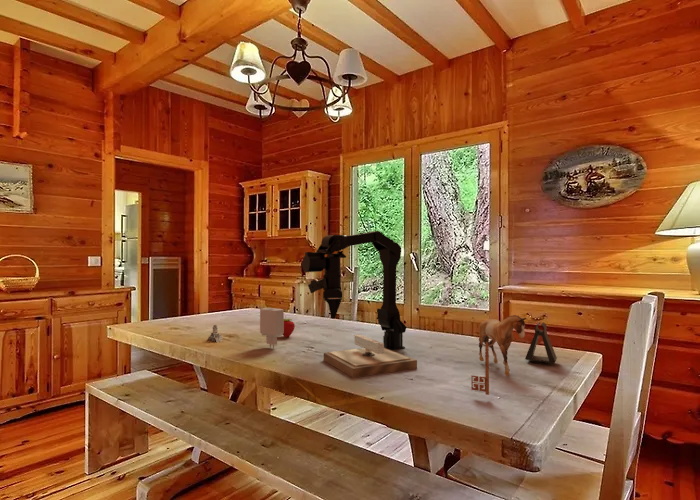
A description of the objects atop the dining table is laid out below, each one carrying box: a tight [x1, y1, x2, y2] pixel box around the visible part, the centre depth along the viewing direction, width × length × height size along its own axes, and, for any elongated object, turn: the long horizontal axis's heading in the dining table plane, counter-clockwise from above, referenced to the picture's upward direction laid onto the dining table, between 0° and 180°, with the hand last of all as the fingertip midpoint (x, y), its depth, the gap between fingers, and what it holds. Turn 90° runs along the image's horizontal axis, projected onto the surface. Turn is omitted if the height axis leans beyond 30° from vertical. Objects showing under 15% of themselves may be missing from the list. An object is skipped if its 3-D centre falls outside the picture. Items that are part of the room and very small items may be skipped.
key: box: [470, 334, 496, 396], centre depth 103 cm, size 6×1×15 cm, turn 63°
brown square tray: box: [323, 347, 418, 379], centre depth 132 cm, size 22×22×3 cm
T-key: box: [353, 334, 384, 354], centre depth 132 cm, size 16×2×5 cm, turn 26°
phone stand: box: [524, 322, 558, 364], centre depth 138 cm, size 9×6×12 cm, turn 58°
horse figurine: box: [478, 314, 527, 376], centre depth 129 cm, size 26×6×17 cm, turn 5°
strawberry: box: [282, 318, 296, 338], centre depth 174 cm, size 6×8×10 cm
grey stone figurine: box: [207, 324, 224, 343], centre depth 167 cm, size 9×9×8 cm
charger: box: [259, 307, 285, 349], centre depth 154 cm, size 5×9×15 cm, turn 52°
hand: (333, 316), depth 142 cm, fingers open, 9 cm apart
